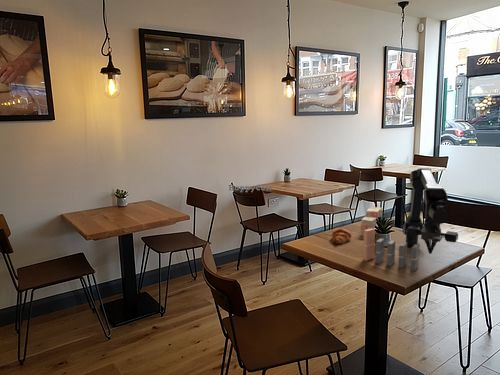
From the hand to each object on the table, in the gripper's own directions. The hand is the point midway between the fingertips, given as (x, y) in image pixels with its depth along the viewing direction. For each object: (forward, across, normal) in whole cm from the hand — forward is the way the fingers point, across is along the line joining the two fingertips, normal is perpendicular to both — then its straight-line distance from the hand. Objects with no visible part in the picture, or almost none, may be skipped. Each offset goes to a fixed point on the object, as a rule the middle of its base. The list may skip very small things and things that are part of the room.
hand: (430, 253), depth 160 cm
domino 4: (+8, -11, 0) cm, 14 cm away
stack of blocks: (+8, -40, +43) cm, 59 cm away
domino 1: (+8, -26, 0) cm, 27 cm away
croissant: (+9, -48, +20) cm, 53 cm away
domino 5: (+8, -6, 0) cm, 10 cm away
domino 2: (+8, -21, 0) cm, 22 cm away
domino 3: (+8, -16, 0) cm, 18 cm away
